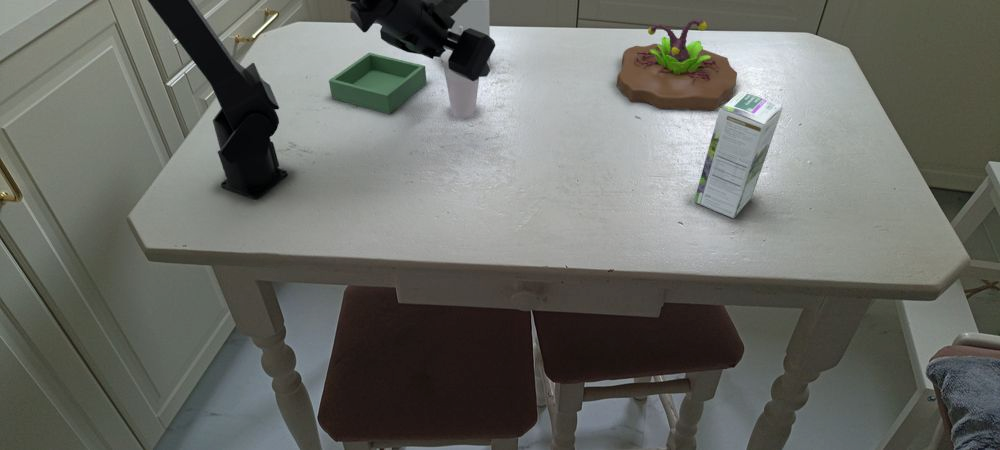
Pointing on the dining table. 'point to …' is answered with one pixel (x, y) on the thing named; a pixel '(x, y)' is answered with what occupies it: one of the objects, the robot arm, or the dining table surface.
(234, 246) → the dining table surface
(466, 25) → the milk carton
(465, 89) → the smoothie
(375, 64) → the caddy
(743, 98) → the syrup box
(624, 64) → the plant
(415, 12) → the robot arm
